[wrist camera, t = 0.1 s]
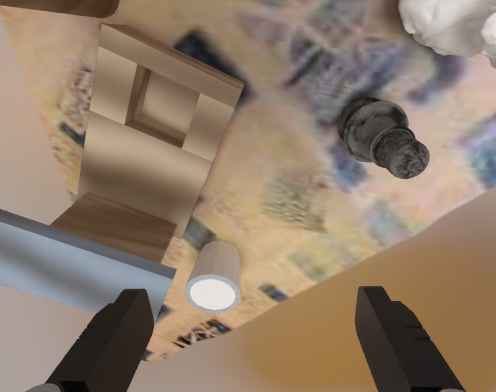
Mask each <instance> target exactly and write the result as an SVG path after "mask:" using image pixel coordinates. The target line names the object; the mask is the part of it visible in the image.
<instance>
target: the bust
mask: <svg viewBox="0 0 496 392" xmlns="http://www.w3.org/2000/svg"><path fill="white" fill-rule="evenodd" d="M398 9H399V12H400V14H401V19H402V23H403V25H404V29H405V30H406V31H407V32H408V33H409V34H413V37H414V40H415V41H417V42H418V43H420V44H422V45H424V46H428V47H431V48H432V49H433V50H434V51H435V52H436V53H438V54H441V55H458V56H461V57H472V56H475V55H478V54H483V55H485V56H486V57H488V58H489V60H490V62H491V65H492V67H494V68H495V69H496V0H399V6H398Z"/></svg>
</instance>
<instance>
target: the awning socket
mask: <svg viewBox="0 0 496 392" xmlns="http://www.w3.org/2000/svg"><path fill="white" fill-rule="evenodd" d="M244 84H245V83H244V82H242V81H240V80H238V79H236V78H234V77H232V76H230V75H228V74H225V73H223V72H221V71H219V70H217V69H215V68H213V67H211V66H209V65H207V64H205V63H203V62H201V61H199V60H197V59H194V58H192V57H190V56H188V55H186V54H184V53H182V52H180V51H178V50H176V49H174V48H172V47H170V46H168V45H165V44H163V43H161V42H159V41H157V40H155V39H153V38H151V37H149V36H147V35H145V34H143V33H141V32H139V31H136V30H134V29H132V28H130V27H128V26H125V25H114V24H104V23H102V25H101V32H100V39H99V46H98V53H97V61H96V68H95V75H94V82H93V89H92V96H91V103H90V110H89V117H88V124H87V131H86V138H85V145H84V152H83V159H82V166H81V173H80V180H79V187H78V194H77V202H75V203H74V204H73V205H72V206H71V207H70V208H69V209H68V210H66V211H65V212H64V213H63V214H62V215H61V216H60V217H58V218H57V219H56V220H55V221H54V222H53V223H52V224H51V225H49V226H48V225H45V224H43V223H39V222H37V221H34V220H31V219H28V218H25V217H22V216H19V215H16V214H13V213H10V212H7V211H4V210H1V209H0V284H1V285H4V286H7V287H10V288H14V289H17V290H21V291H24V292H27V293H31V294H34V295H37V296H41V297H44V298H47V299H51V300H54V301H57V302H61V303H64V304H68V305H71V306H74V307H78V308H81V309H84V310H88V311H91V312H94V313H98V312H99V311H100V310H101V309H103V308H104V307H105V306H106V305H107V304H109V303H114V302H115V300H116V299H117V298H118V296H119V295H120V293H121V292H122V291H123V290H124V289H146V291H147V293H148V297H149V301H150V305H151V309H152V313H153V317H154V322H155V320H156V318H157V315H158V313H159V311H160V308H161V306H162V304H163V301H164V299H165V297H166V294H167V292H168V290H169V288H170V285H171V283H172V281H173V278H174V275H175V273H176V270H177V269H174V268H171V267H168V266H165V265H163V264H161V261H162V259H163V257H164V255H165V252H166V250H167V248H168V246H169V244H170V241H171V239H172V237H173V236H174V237H177V238H180V239H181V238H182V236H183V233H184V231H185V228H186V226H187V224H188V221H189V219H190V216H191V214H192V211H193V209H194V207H195V204H196V202H197V199H198V197H199V194H200V192H201V189H202V187H203V185H204V182H205V180H206V177H207V175H208V172H209V170H210V168H211V165H212V163H213V160H214V158H215V155H216V153H217V150H218V148H219V146H220V143H221V141H222V138H223V136H224V133H225V131H226V129H227V126H228V124H229V121H230V119H231V116H232V114H233V111H234V109H235V107H236V104H237V102H238V99H239V97H240V94H241V92H242V89H243V87H244Z"/></svg>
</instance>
